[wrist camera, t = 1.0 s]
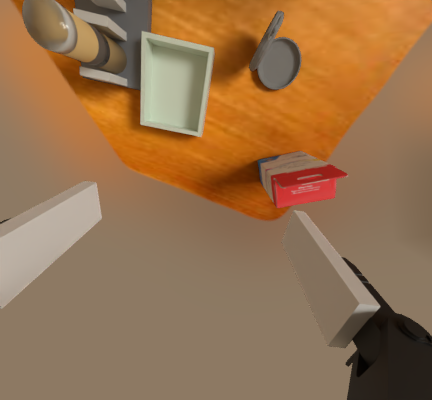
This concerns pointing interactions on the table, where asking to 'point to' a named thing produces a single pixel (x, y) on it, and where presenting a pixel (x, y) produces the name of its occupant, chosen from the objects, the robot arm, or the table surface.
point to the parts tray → (174, 83)
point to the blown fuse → (71, 36)
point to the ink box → (298, 179)
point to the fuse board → (117, 35)
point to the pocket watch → (276, 57)
